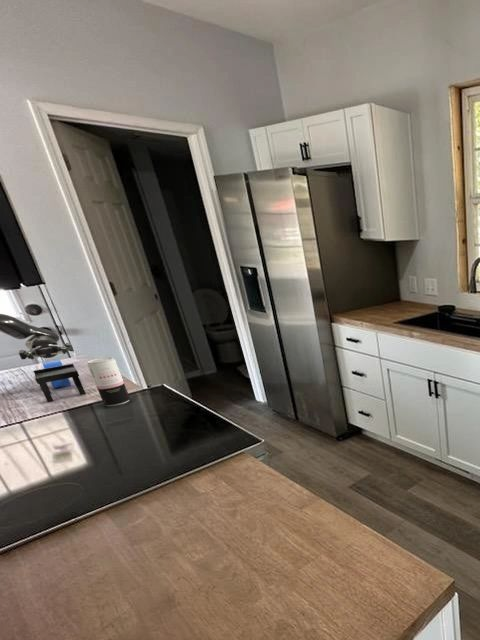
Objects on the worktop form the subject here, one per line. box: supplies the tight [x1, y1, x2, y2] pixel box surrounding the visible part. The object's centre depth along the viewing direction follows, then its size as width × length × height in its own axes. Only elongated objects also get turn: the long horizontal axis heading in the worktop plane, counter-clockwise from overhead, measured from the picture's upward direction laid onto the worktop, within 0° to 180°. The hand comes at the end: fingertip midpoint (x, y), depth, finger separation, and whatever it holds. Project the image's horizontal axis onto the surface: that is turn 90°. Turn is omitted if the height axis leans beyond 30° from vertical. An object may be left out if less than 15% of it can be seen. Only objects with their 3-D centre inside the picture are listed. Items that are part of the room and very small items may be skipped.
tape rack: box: [33, 363, 87, 403], centre depth 145 cm, size 14×10×9 cm
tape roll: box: [41, 359, 72, 389], centre depth 153 cm, size 5×10×10 cm, turn 50°
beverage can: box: [87, 356, 131, 407], centre depth 135 cm, size 7×7×15 cm
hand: (48, 354), depth 157 cm, fingers open, 8 cm apart
